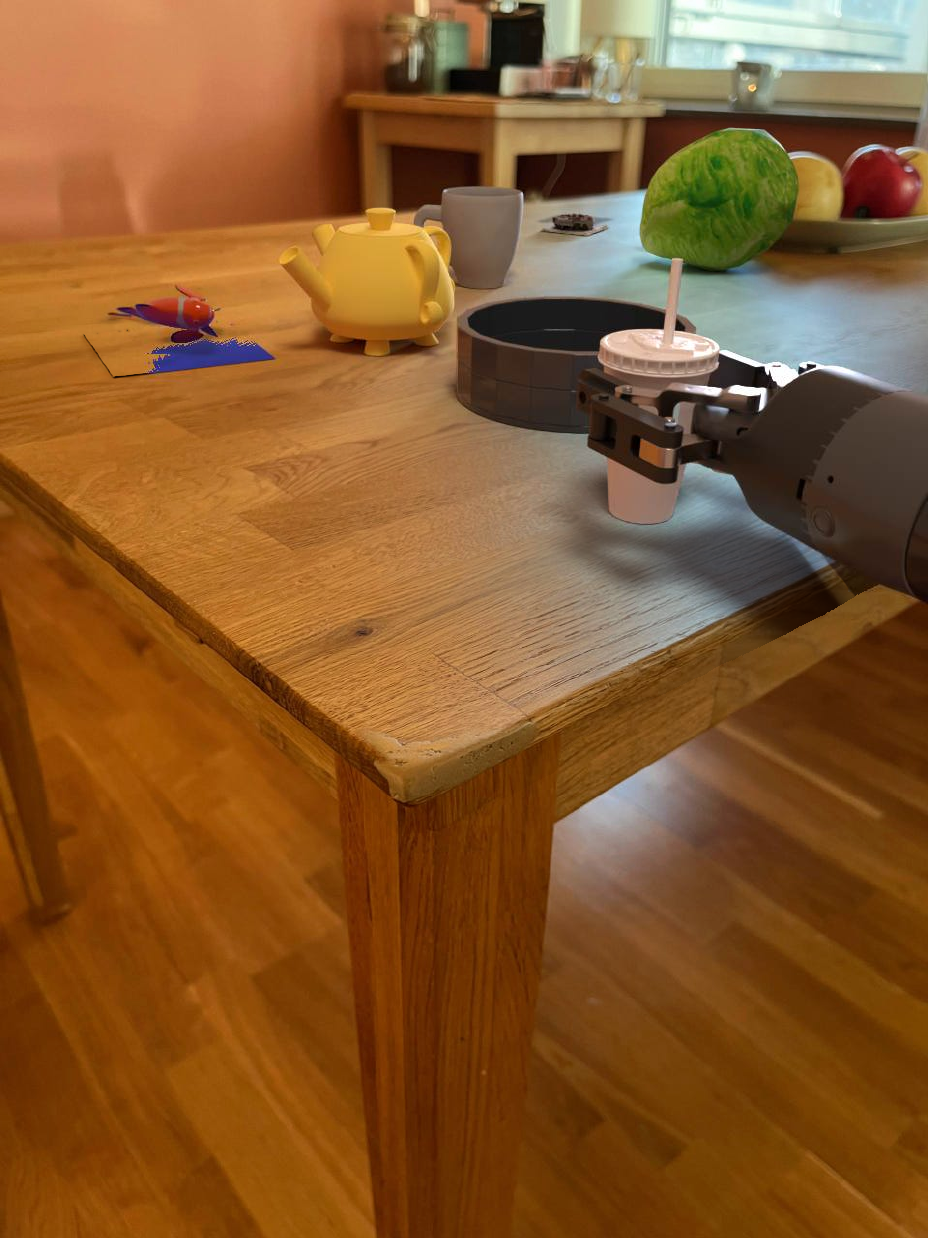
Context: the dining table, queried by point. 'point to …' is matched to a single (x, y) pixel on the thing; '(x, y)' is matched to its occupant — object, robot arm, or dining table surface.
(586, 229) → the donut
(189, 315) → the fish
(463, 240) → the mug
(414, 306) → the teapot
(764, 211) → the lettuce
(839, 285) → the dining table surface
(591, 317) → the pot
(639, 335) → the smoothie
